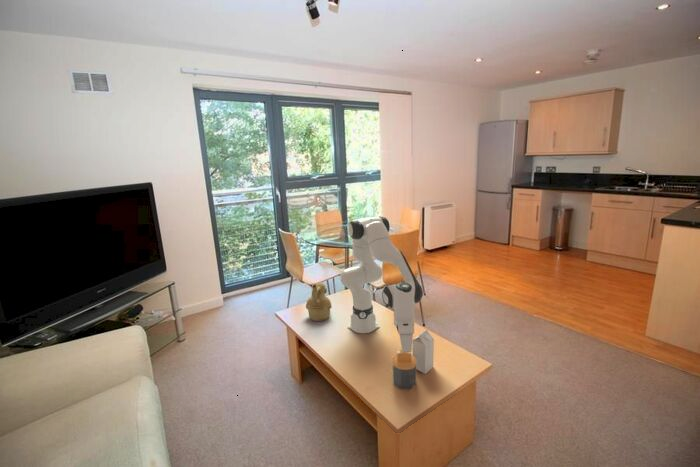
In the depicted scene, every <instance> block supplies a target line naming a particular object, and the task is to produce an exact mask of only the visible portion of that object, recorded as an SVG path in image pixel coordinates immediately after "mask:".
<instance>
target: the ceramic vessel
mask: <svg viewBox="0 0 700 467" xmlns="http://www.w3.org/2000/svg"><path fill="white" fill-rule="evenodd" d="M311 289H312V296H311V297H309V298H308V299H307V301H306V303H305V308H306V310H307V312H308V317H309V318H310V320H312V321H314V322H323V321H326V320H327V319H329V317H330V315H331V309H332V302H331V300H330V298H328V297H327V295H326V294H327V292H328V289H327V287H326V284H325V283H323V282H317V283H316V284H313V285H311ZM325 295H326V296H325Z"/></svg>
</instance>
